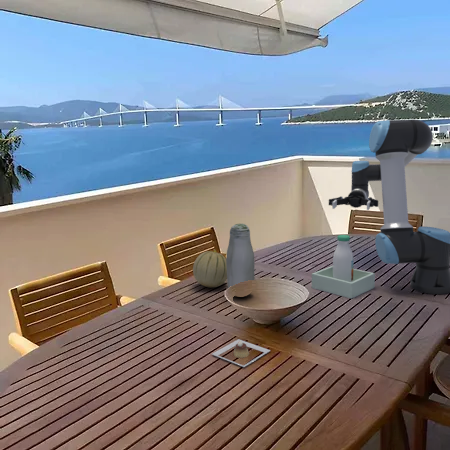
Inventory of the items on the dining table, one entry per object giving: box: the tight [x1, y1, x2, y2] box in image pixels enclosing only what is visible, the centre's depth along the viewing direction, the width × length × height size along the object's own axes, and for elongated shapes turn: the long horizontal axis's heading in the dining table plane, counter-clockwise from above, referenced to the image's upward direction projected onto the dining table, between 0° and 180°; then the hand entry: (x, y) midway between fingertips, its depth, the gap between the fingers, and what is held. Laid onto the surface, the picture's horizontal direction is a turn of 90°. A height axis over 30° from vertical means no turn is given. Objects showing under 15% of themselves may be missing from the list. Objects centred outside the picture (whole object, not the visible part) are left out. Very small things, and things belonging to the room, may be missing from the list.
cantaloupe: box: [192, 248, 227, 288], centre depth 191 cm, size 15×15×15 cm
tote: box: [311, 265, 376, 299], centre depth 185 cm, size 18×16×6 cm
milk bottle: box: [332, 234, 354, 282], centre depth 183 cm, size 8×8×20 cm
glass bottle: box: [225, 223, 255, 288], centre depth 178 cm, size 10×10×28 cm
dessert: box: [211, 338, 271, 368], centre depth 135 cm, size 12×12×5 cm
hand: (350, 206), depth 192 cm, fingers open, 13 cm apart
